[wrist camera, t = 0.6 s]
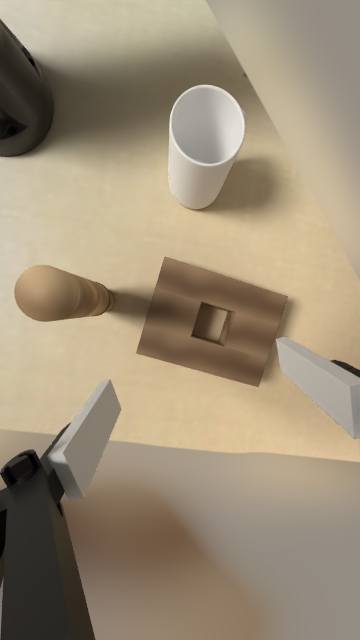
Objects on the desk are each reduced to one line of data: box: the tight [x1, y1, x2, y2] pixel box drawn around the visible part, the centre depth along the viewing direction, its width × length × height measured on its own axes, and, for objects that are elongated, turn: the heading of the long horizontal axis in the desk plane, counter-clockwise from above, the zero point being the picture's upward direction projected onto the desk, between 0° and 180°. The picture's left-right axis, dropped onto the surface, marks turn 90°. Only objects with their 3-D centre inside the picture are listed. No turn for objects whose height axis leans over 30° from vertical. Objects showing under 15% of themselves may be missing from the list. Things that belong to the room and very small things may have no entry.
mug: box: [168, 85, 247, 209], centre depth 28 cm, size 9×12×11 cm
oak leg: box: [14, 265, 114, 322], centre depth 25 cm, size 5×5×16 cm
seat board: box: [136, 257, 288, 387], centre depth 32 cm, size 15×20×4 cm
